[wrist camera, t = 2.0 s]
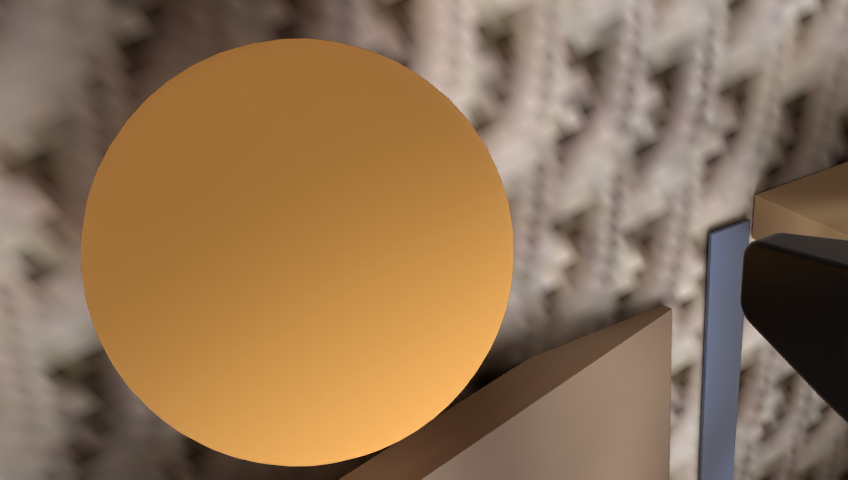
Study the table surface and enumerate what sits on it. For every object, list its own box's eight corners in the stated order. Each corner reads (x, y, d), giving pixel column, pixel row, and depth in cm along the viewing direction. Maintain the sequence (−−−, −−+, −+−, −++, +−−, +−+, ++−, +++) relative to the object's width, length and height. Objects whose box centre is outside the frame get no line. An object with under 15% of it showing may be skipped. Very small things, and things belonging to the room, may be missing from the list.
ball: (141, 377, 14) (186, 643, 9) (17, 57, 11) (-14, 189, 6) (434, 276, 16) (607, 453, 11) (389, -23, 13) (593, 32, 8)
